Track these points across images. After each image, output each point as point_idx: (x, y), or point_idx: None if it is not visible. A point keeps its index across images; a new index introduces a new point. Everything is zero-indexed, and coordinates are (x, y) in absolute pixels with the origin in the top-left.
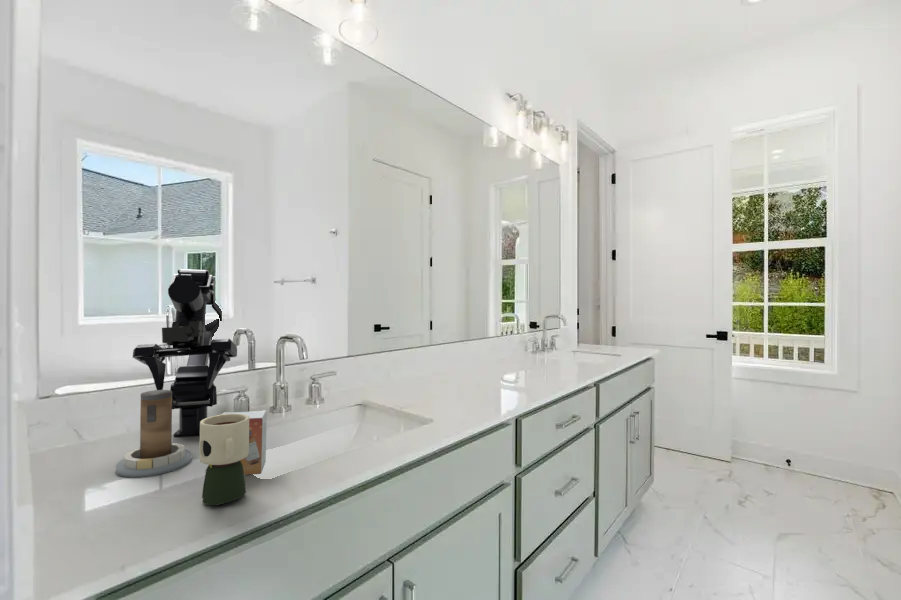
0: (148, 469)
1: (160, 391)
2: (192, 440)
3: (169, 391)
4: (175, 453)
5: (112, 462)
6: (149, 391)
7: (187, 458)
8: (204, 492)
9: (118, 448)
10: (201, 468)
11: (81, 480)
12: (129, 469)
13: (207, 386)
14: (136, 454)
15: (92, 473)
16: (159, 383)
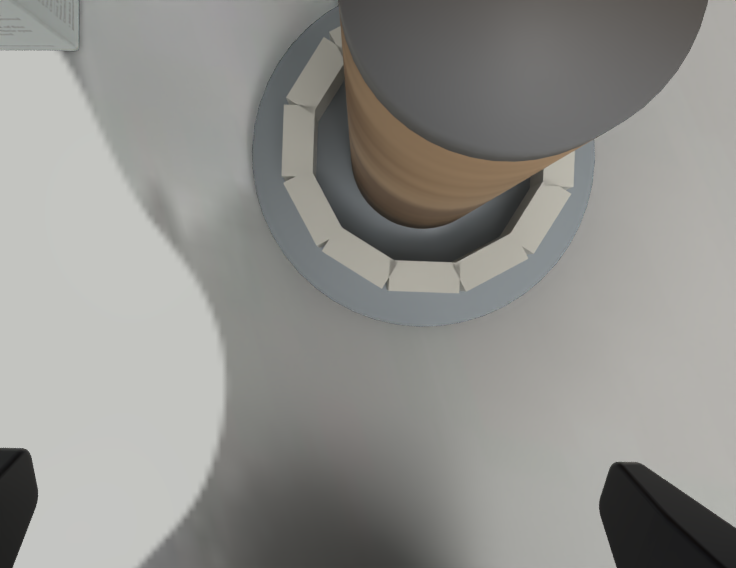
0: None
1: (500, 35)
2: (346, 527)
3: (378, 16)
4: (305, 80)
5: (642, 243)
6: (649, 63)
7: (260, 128)
8: None
9: (703, 468)
10: (176, 49)
11: None
12: None
13: (3, 451)
14: (533, 190)
15: (671, 105)
16: (682, 532)
